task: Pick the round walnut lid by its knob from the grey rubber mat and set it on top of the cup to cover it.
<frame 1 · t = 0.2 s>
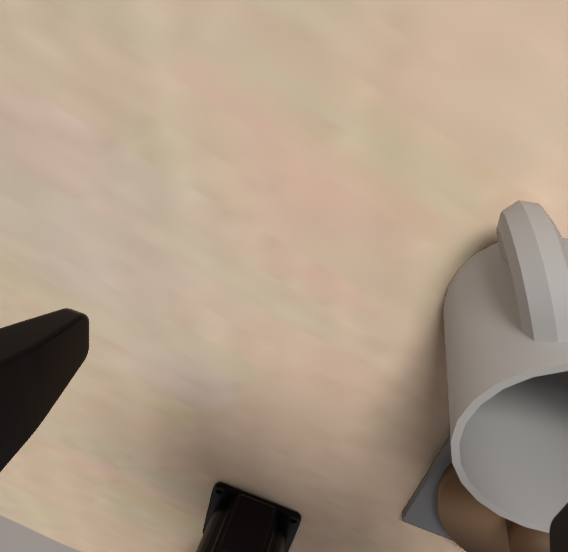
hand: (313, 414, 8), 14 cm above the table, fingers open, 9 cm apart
mat: (529, 494, 27), on the table
lid: (531, 503, 27), point 1 cm above the table, touching mat
cup: (521, 274, 21), on the table
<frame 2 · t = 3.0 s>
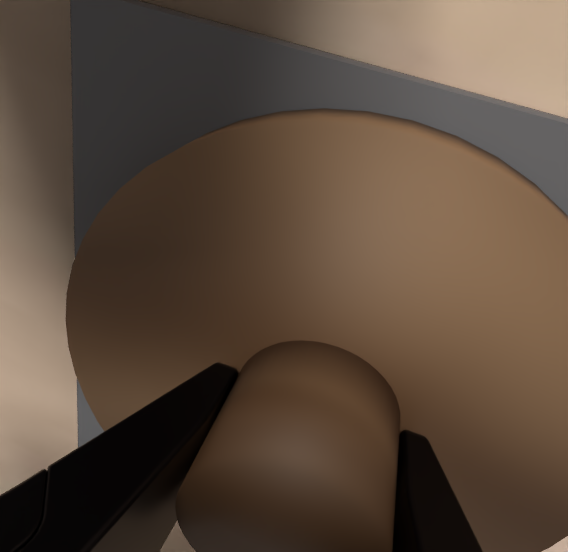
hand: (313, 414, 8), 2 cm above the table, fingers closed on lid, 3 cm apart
mat: (330, 355, 10), on the table
lid: (324, 373, 9), point 1 cm above the table, touching gripper, mat
when the fingers open (11 cm above the table, at t = 5.6 s): lid stays where it is, resting on cup.
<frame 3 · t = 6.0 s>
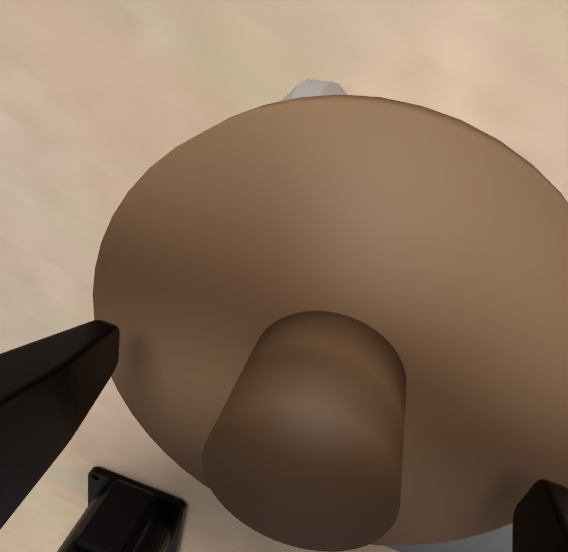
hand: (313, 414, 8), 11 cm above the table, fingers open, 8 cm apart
mat: (420, 473, 23), on the table
lid: (334, 346, 10), point 9 cm above the table, touching cup
cup: (372, 202, 18), on the table, touching lid
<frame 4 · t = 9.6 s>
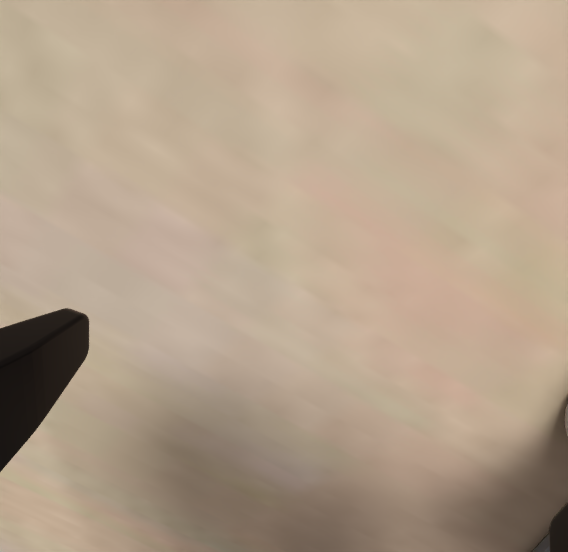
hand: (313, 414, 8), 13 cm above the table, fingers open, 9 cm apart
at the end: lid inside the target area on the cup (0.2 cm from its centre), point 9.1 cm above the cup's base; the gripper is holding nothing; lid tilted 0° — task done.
